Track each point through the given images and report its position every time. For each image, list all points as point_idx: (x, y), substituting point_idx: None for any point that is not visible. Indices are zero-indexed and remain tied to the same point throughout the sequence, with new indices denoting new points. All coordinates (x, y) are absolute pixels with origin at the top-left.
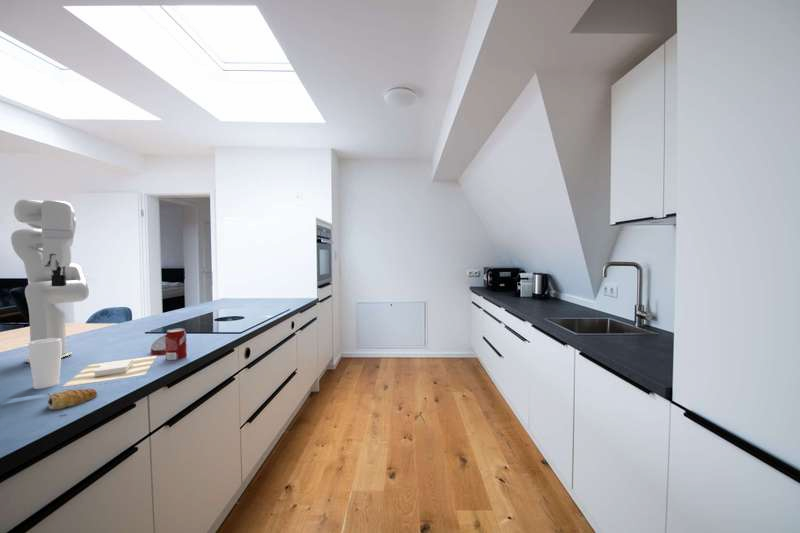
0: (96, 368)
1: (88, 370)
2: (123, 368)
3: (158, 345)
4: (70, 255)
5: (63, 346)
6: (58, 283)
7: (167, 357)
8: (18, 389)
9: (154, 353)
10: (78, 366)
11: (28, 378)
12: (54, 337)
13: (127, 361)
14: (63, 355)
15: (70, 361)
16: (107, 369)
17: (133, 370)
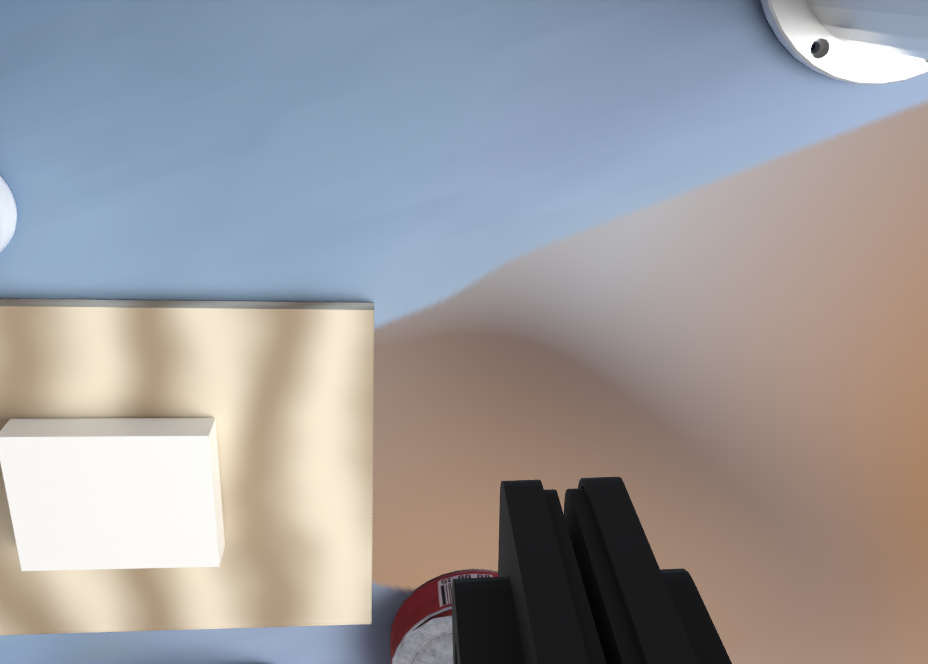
0: (230, 376)
1: (201, 345)
2: (22, 554)
3: None
4: None
5: (892, 52)
6: (452, 637)
7: None
8: (13, 41)
9: (412, 611)
10: (443, 229)
11: (283, 3)
12: (909, 12)
13: (162, 551)
14: (808, 56)
15: (648, 133)
16: (6, 493)
17: (60, 572)
